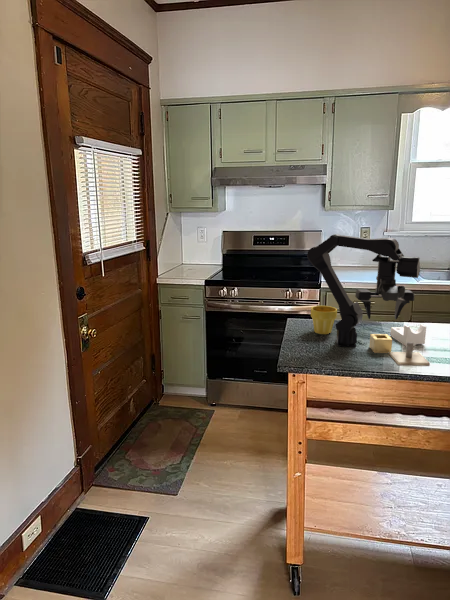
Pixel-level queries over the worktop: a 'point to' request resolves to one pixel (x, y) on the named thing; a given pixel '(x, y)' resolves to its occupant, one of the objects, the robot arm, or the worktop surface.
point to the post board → (407, 360)
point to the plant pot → (323, 318)
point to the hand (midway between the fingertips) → (382, 318)
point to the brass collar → (380, 343)
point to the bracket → (409, 334)
